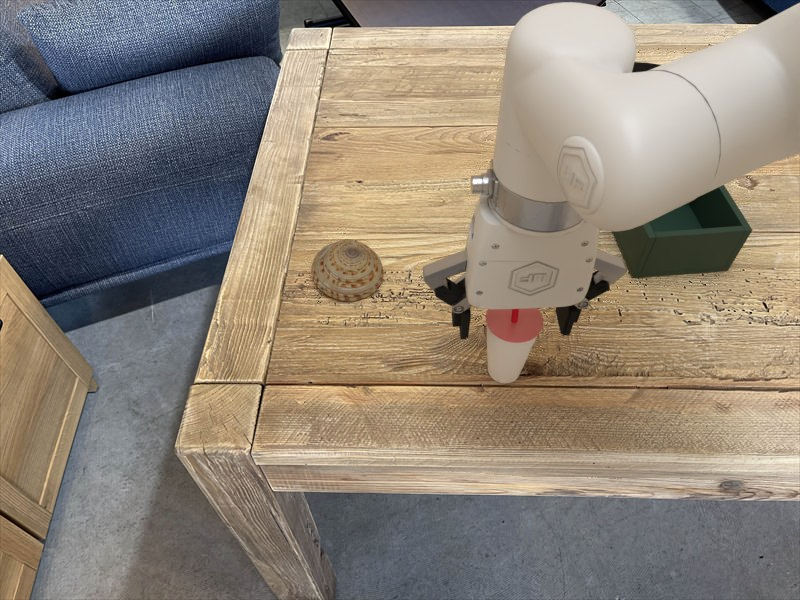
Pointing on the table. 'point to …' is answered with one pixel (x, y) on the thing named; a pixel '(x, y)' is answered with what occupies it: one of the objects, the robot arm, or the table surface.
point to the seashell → (347, 270)
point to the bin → (687, 238)
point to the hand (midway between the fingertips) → (512, 325)
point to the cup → (510, 340)
